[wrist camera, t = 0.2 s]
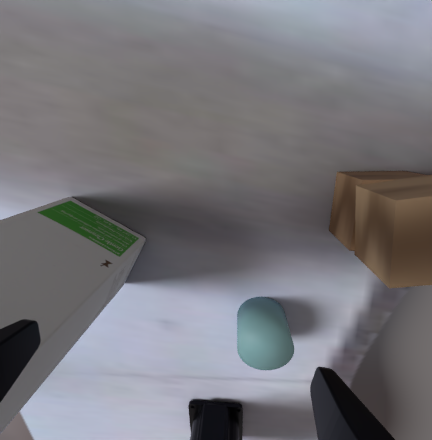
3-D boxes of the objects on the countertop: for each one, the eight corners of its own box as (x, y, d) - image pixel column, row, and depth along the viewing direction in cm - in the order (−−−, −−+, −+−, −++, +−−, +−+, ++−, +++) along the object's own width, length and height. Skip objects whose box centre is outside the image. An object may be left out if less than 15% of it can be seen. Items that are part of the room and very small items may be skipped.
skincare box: (149, 237, 22) (-30, 437, 7) (123, 287, 24) (-56, 520, 9) (66, 193, 21) (-323, 314, 6) (47, 248, 23) (-278, 436, 9)
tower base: (389, 230, 20) (425, 251, 16) (328, 229, 20) (349, 250, 16) (403, 170, 18) (446, 178, 14) (336, 171, 19) (362, 180, 15)
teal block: (283, 335, 24) (291, 371, 21) (237, 333, 25) (237, 368, 21) (286, 297, 23) (296, 328, 19) (237, 295, 23) (237, 326, 19)
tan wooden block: (432, 246, 16) (493, 279, 12) (354, 254, 17) (389, 288, 13) (442, 173, 14) (515, 185, 11) (355, 185, 15) (395, 200, 11)
